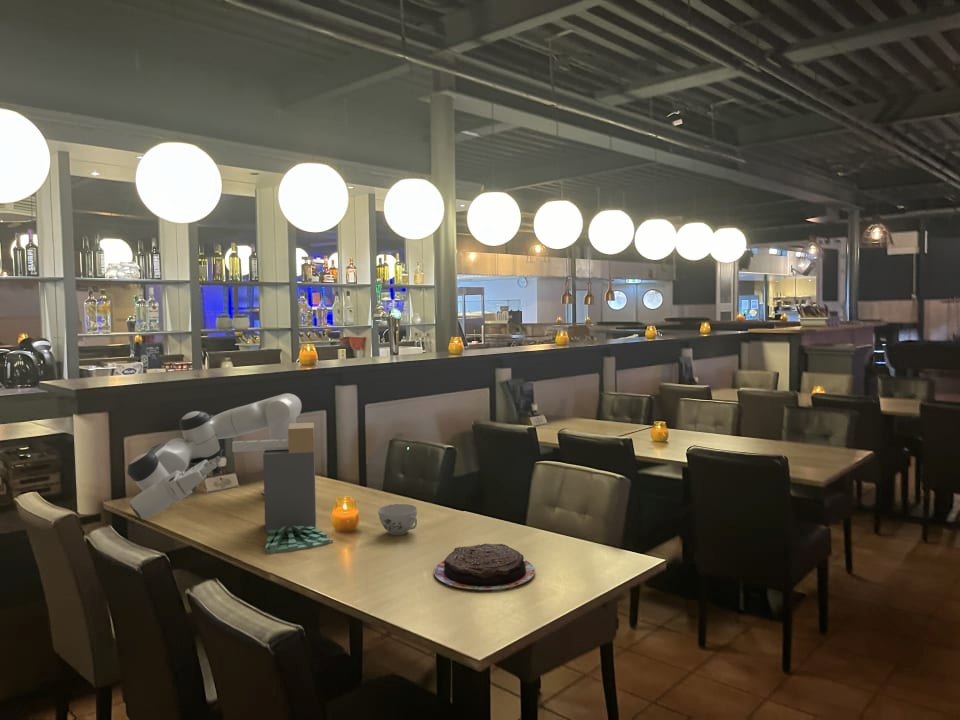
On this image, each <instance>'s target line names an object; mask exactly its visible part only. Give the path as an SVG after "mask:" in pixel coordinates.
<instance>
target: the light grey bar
mask: <svg viewBox="0 0 960 720" xmlns="http://www.w3.org/2000/svg"><path fill="white" fill-rule="evenodd" d="M231 446H232V449H231V450H232V453H238V452H243V453H244V452H264V451H267V450H289V444H288V439H278V440H270V439H259V440H254V439H252V440H236V441H235V440H234V441H232V443H231Z"/></svg>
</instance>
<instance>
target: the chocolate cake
mask: <svg viewBox="0 0 960 720" xmlns="http://www.w3.org/2000/svg"><path fill="white" fill-rule="evenodd" d="M535 573H536V570H535V567H534V565H533V564H532V563H531V562H530V561H528V560H526V559H525V558H524V555H523V554H522V553H520V552H519V550H516V549H514V548H513V547H509V545H506V544H504V543H483V544H476V545H469V546H459V547H455V548H454V549H453V551H452V552H450V553H449V554H448V555H447V556H446V557H445V559H444V560H442V561H440V562H439V563H438V564H437V565H436V566H435V567H434V568H433V575H434V577H435V579H437V580H438V582H441V583H443V584H445V586H446V587H448V588H457V589H459V590H461V591H468V592H472V593H473V592H474V593H483V592H484V593H485V592H486V593H487V592H495V591H498V592H499V591H503V590H504V591H505V590H512V589H515V588H516V587H518V586H520V585H522V584H525V583H530V582H531V580H532V579H533V577H534V575H535Z"/></svg>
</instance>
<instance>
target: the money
mask: <svg viewBox="0 0 960 720" xmlns="http://www.w3.org/2000/svg"><path fill="white" fill-rule="evenodd" d="M267 535H268V536H267V539H266V544H265V548H264V549H265V554H276V553H285V552H287V553H288V552H293V551H302V550H309V549H312V548H317V547H322V546H325V545H329V544H332V543H333V542H334V539H332V538H328V534H327V533H326V532H323V531H322V530H320V529H317V528H316V529H315V527H312V526H310V527H306V528H305V527H304V526H298V527H296V526H293V532H292V529H291V528H288V532H286V526H283V527H282V528H281V529H280V530H279V529H276V530H269V531H268V533H267Z"/></svg>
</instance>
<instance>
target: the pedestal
mask: <svg viewBox="0 0 960 720" xmlns="http://www.w3.org/2000/svg"><path fill="white" fill-rule="evenodd" d="M288 444H289V450H267V451H263V454H262V455H263V456H262V457H263V458H262V459H263V464H262V465H263V490H264V494H263V495H264V496H263V498H264V499H263V500H264V502H263V503H264V529H265V533H264V534H268V531H269V530H276V529H279V530H280V529H281V528H282V527H283V526H286V533H288V528H291V529H292V533H293V526H296V527H298V526H304V527H305V528H306V527H310V526H312V527H315V529H317V525H316V524H317V508H316V507H317V505H316V503H317V502H316V466H315V465H316V464H315V463H316V462H315V461H316V460H315V459H316V458H315V456H316V455H315V453H316V452H315V422H296V423H290V424H289V428H288Z"/></svg>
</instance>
